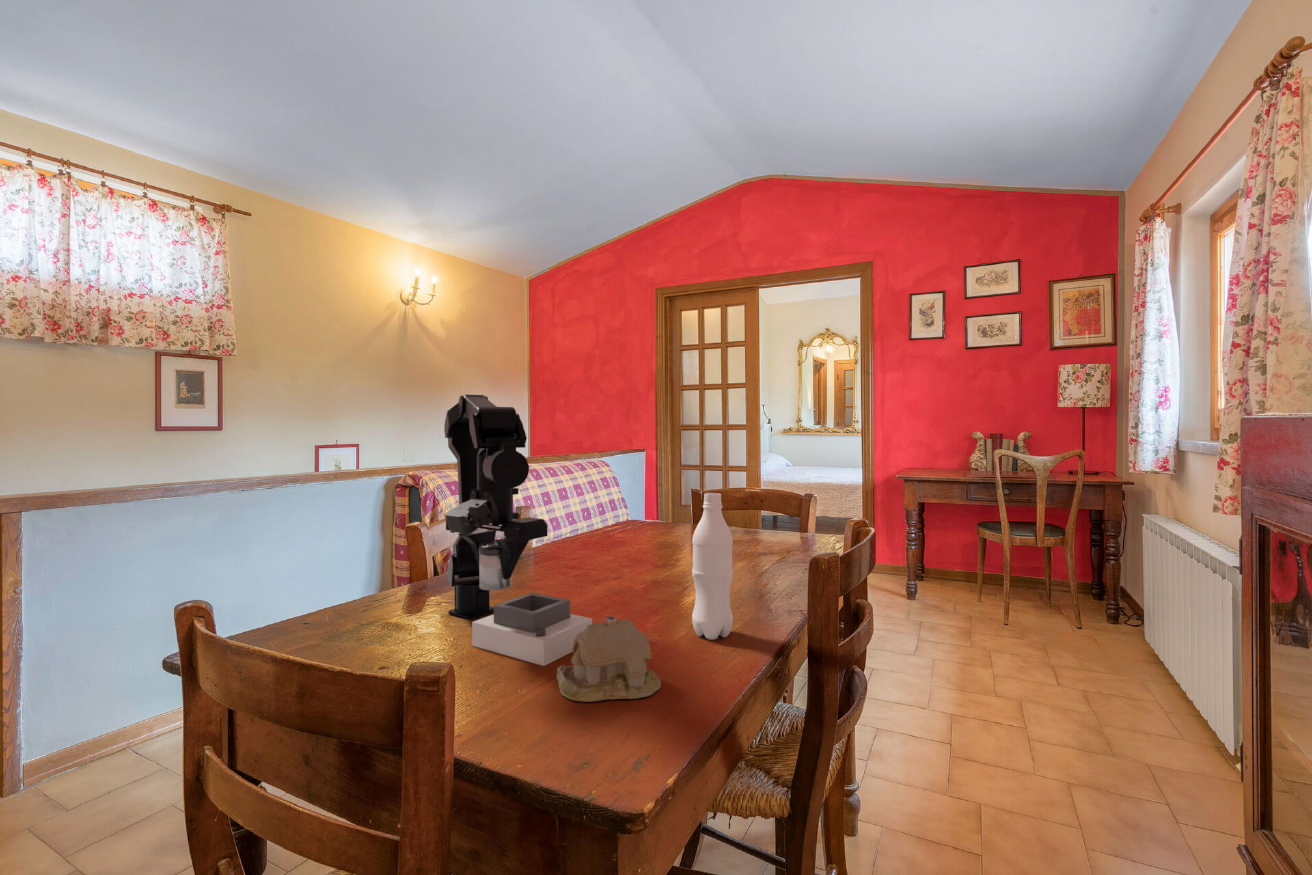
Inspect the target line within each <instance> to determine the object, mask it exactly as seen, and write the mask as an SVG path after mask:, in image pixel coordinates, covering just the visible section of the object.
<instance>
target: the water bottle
mask: <svg viewBox="0 0 1312 875" xmlns="http://www.w3.org/2000/svg"><path fill="white" fill-rule="evenodd" d="M703 496H704V497H703V505H702V508H703V512H702V515H701V518H700V520H699V522H698V523H697V526H696V528H695V530H694V532H693V536H692V540H691V541H692V542H691V543H692V569H691V571H692V572H691V576H692V579H693V582H694V587H695V588H694V590H695V600H694V601H695V602H694V606H693V610H692V613H691V614H692V615H691V618H692V619H691V621H692V622H691V623H692V626H693V629H694V632H695V634H696V636H698V637H702V636H704V637H705V638H706V639H707V640H712V641H714V640H717V639H718V638H719V636H721V637H722V638H727V637H728V636H729V635H730V632H731V630H732V628H733V620H734V617H733V612H732V609H731V605H730V602H731V601H730V594H731V593H730V592H731V584H732V581H733V578H734V569H733V544H734V540H733V539H734V538H733V535H732V533H731V529H730V527H729V526H728V524H727V522H726V520H725V518H724V516H723V512H722V509H723V508H724V506H723V503H722V494H721V493H718V492H705V493H704V494H703Z"/></svg>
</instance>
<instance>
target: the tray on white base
mask: <svg viewBox="0 0 1312 875" xmlns="http://www.w3.org/2000/svg"><path fill="white" fill-rule="evenodd" d="M493 607H494V611H493V614H491V615H488V616H485V617H481V618H480V619H477V620H474V621H472V622H471V628H472V629H471V636H472V637H471V638H472V639H471V641H472V642H471V646H472V647H475V648H478V649H483V650H486V651H490V652H493V653H497V654H500V655H504V656H508V657H511V658H514V659H518V660H521V661H524V662H528V663H532V664H535V665H539V666H543V667H545V666H546V665H549V664H551V663H553V662H555V661H557V660H558V659H561V658H563V657H565V656H566V655H569V654H571V653H572V647H573V643H574V640H575V638H576V636H577V635H578V634H580V633H581V632H582V631H584V630H585V629H586V628H587V625H592V624H593V618H591V617H585V616H582V615H577V614H572V613H571V599H566V598H562V597H561V598H560V597H556V596H550V595H546V594H543V593H542V594H540V593H536V592H529V593H526V594H523V595H519V596H516V597H514V598H511V599H508V600H506V601H505V600H504V601H502V602H500V603H497V604H494V605H493Z"/></svg>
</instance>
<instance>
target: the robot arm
mask: <svg viewBox="0 0 1312 875" xmlns="http://www.w3.org/2000/svg"><path fill="white" fill-rule="evenodd" d="M443 428H444V430H443V431H444V438H445V439H447V446H448V449H449V450H450V452H451V453H452V455H453V456H454V458H455V459H456V462H457V485H458V486H457V489H458V505H456V506H455V507H453V508H451V509H450V510H447V511H446V512H445V513H444V516H445V531H449V532H450V533H451V534H454V533H457V538H456V539H455V541H454V543H453V545H452V554H450V556H449V559H448V564H447V565H448V566H447V570H446V573H447V574H446V575H447V583H448V584H449V585H450V587H454V608H453V609H450V610H448V614H449V615H453V616H457V617H461V618H464V619H473V618H477V617H480V616H482V615H483V616H484V615H485V614H488V613H491V612H494V606H490V604H491V603H490V600H491V599H490V590H483V589H480V587H479V544H481V543H484V542H491V541H495V542H496V543H497V544H498V545H499V547H500V548H501V555H502V571H503V578H504V579H505V580H507V579H510V577H511V578H512V575H513V573H514V571H515V569H516V567H517V564H518V562H519V560H520V558H521V556H522V554H523V552H524V550H525V548H526V547H527V545H528V544H529V542H530V541H532V540H536V539H541V538H545V537H548V523H547V522H546V520H545V519H544V518H540V517H539V518H537V517H531V516H530V517H529V516H527V517H523V518H519V516H520V514H519V512H515V511H514V496H515V495H519V486H521V485H523V484H524V483H525V481H526V480H527V478H528V476H529V474H530V465H529V462H528V460H527V459H526V458H527V457H525V455H524V454H522V453H521V452H519V451H517V449H519V448H522V449H525V448H526V442H527V439H528V437H527V434H526V431H525V427H524V425H523V420H522V419H521V417H520V414H518V413H517V411H516V409H515V407H513V406H497V405H496V404H494V403H493V402H491V401H490V400H489V397H488V396H487V395H486V396H485V395H484V394H462V395H460V396H459V399H458V402H457V403H456V404H455V405H453V406H452V407H451V408H450V409H448V410H447V411H446V415H445V420H444V427H443ZM497 532H503V537H502V538H497V539H496V534H497Z"/></svg>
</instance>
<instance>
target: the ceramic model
mask: <svg viewBox="0 0 1312 875" xmlns="http://www.w3.org/2000/svg"><path fill="white" fill-rule="evenodd" d="M571 653H572V654H573V655H572V657H571V660H570V661H571V664H572V665H569V666H566V665H564V664H562V665H560V666H558V667H557V671H556V672H557V673H556V680H557V681H558V682H557V684H558V685H557V686H558V687H559V688H558V689H559V692H560V693H561V695H562V696H563V697H564V698H567V699H569V700H571V701H576V702H587V703H588V702H592V703H593V702H599V701H605V700H622V699H623V700H625V699H626V700H627V699H629V700H633V699H640V698H645V697H649V696H652V695H653V694H654V693H656V692H657V691H659V690H660V689H661V687H662V682H661V679H660V678H659V677H658V676H657V675H656V672H654V671H653V670H650V669H649V668H647V661H648V660H650V659H652V652H651V646H650V641H649V639H648V637H647V636H646V635H645V633H643V632H642V631H640V630H639V629H638V628H637V626H635V624H634V623H633V621H632V620H630V619H627V618H626V619H619V620H617V618H616V617H615V616H613V615H609V616H606V617H605V621H604V622H597V623H592V625H587V628H586V629H585V630H584V631H582V632H581V633H580V634H578V635H577V636H576V638H575V640H574V643H573V647H572V652H571Z"/></svg>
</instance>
